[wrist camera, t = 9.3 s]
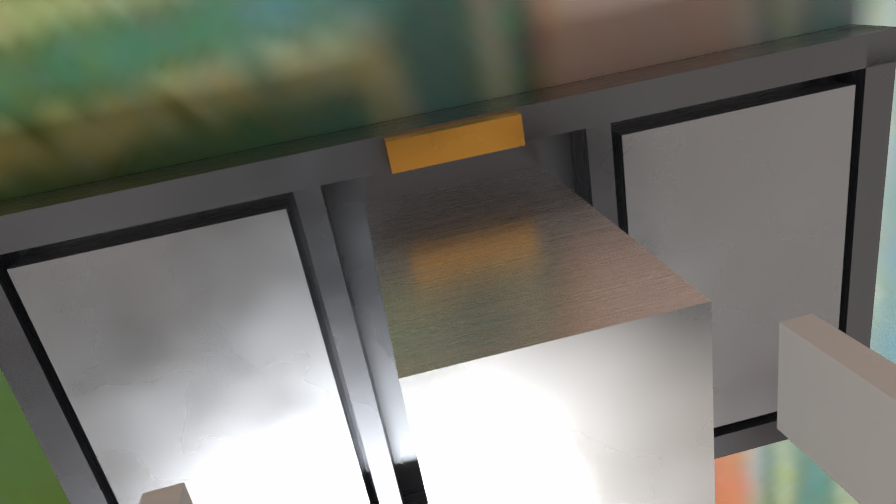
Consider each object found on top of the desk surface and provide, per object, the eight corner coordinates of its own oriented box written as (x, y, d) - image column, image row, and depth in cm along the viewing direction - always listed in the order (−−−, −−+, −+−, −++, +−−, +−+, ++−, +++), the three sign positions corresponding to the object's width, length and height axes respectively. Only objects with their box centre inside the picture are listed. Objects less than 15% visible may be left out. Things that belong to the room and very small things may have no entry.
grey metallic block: (424, 458, 19) (486, 745, 12) (364, 203, 16) (398, 378, 9) (571, 420, 20) (717, 674, 12) (539, 164, 17) (711, 301, 9)
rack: (143, 573, 19) (124, 634, 18) (-35, 209, 15) (-85, 239, 13) (828, 391, 21) (875, 428, 20) (852, 24, 17) (916, 27, 15)
